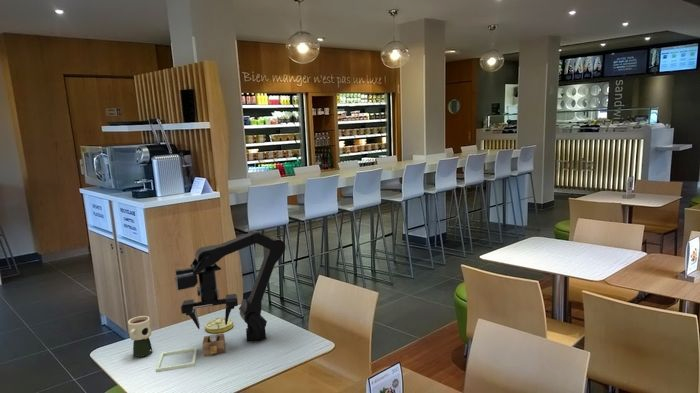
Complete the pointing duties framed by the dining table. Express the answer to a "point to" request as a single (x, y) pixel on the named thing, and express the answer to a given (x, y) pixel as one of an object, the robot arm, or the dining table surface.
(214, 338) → the stake
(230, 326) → the decorated donut
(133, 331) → the character mug
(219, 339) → the brown piece
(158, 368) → the tray
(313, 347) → the dining table surface
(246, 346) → the dining table surface
